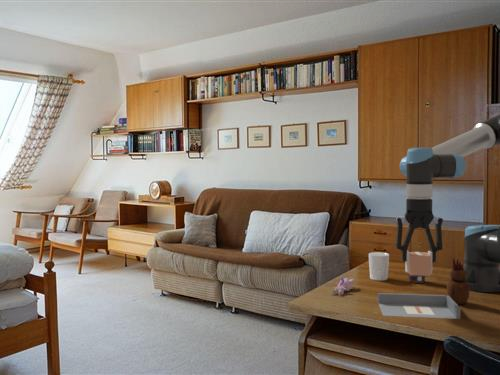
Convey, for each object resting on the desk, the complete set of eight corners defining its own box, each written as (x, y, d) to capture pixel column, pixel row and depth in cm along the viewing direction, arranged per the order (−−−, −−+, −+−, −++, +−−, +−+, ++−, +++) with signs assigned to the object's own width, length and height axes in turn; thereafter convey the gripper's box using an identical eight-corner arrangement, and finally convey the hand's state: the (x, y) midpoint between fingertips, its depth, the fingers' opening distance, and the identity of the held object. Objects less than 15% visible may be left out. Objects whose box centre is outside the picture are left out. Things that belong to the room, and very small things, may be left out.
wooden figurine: (449, 305, 145) (450, 259, 144) (444, 299, 151) (445, 255, 150) (471, 305, 144) (472, 259, 143) (465, 300, 150) (466, 256, 149)
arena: (448, 306, 144) (448, 295, 144) (460, 319, 131) (460, 308, 131) (377, 303, 148) (378, 292, 148) (382, 316, 135) (383, 305, 135)
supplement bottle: (424, 284, 170) (424, 254, 170) (408, 282, 173) (408, 253, 172) (425, 280, 176) (425, 252, 175) (409, 279, 178) (409, 251, 178)
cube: (430, 275, 136) (431, 255, 135) (410, 275, 137) (410, 255, 136) (426, 270, 142) (426, 251, 141) (406, 270, 143) (406, 251, 142)
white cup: (366, 276, 184) (366, 252, 183) (386, 276, 183) (386, 252, 183) (371, 281, 176) (371, 256, 175) (391, 281, 176) (391, 256, 175)
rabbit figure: (344, 301, 155) (359, 284, 167) (343, 285, 154) (358, 269, 166) (327, 299, 158) (343, 282, 170) (326, 283, 157) (342, 267, 169)
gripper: (448, 197, 140) (447, 270, 141) (385, 197, 143) (385, 268, 144) (455, 198, 132) (454, 276, 134) (389, 198, 136) (388, 274, 137)
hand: (418, 272), depth 139 cm, fingers closed on cube, 6 cm apart
